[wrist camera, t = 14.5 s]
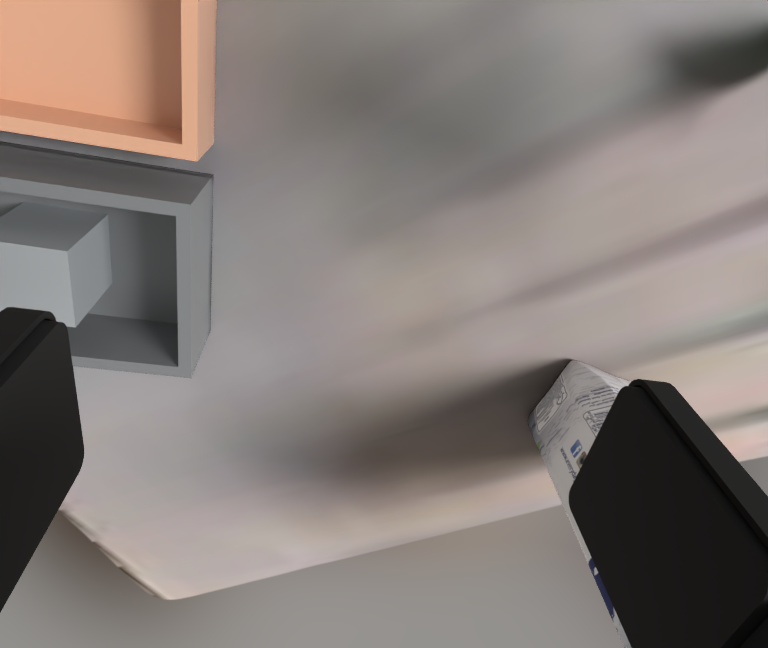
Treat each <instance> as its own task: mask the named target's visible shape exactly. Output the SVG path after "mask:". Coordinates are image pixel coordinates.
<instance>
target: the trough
mask: <svg viewBox="0 0 768 648" xmlns="http://www.w3.org/2000/svg"><path fill="white" fill-rule="evenodd" d="M216 13H217V0H0V130H1V131H7V132H14V133H20V134H26V135H33V136H39V137H45V138H52V139H58V140H64V141H71V142H77V143H83V144H90V145H96V146H102V147H108V148H115V149H121V150H127V151H134V152H140V153H146V154H153V155H159V156H165V157H172V158H178V159H184V160H190V161H198V160H199V159H200V158H201V157H202V156H203V155H204V154H205V153H206V151H207V150H208V149H209V148H210V147H211V146H212V145H213V144H214V118H215V65H216Z"/></svg>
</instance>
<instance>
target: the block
mask: <svg viewBox="0 0 768 648" xmlns="http://www.w3.org/2000/svg"><path fill="white" fill-rule="evenodd" d="M111 284H112V268H111V253H110V238H109V223H108V215H107V214H101V213H94V212H88V211H81V210H75V209H68V208H62V207H55V206H49V205H42V204H36V203H29V202H24V203H22V204H20V205H19V206H17V207H16V208H14V209H13V210H11V211H9V212H8V213H6V214H5V215H3V216H1V217H0V312H1V311H2V310H3V309H5V308H7V307H17V308H25V309H34V310H43V311H50V312H51V313H53V315H54V316H55V318H56V322H63V323H65V325H66V326H67V327H75V328H76V326H77V325H78V324H79V323H80V322H81V320H82V319H83V318H84V317H85V316H86V314H87V313H88V312H89V311H90V309H91V308H92V307H93V306H94V305H95V303H96V302H97V301H98V300H99V298H100V297H101V296H102V295H103V294H104V292H105V291H106V290H107V289H108V288H109V286H110V285H111Z"/></svg>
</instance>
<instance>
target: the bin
mask: <svg viewBox="0 0 768 648" xmlns="http://www.w3.org/2000/svg"><path fill="white" fill-rule="evenodd" d="M24 202H29V203H36V204H42V205H49V206H55V207H62V208H68V209H75V210H81V211H88V212H94V213H101V214H107V215H108V223H109V238H110V253H111V268H112V284H111V285H110V286H109V288H108V289H107V290H106V291H105V292H104V294H103V295H102V296H101V297H100V298H99V300H98V301H97V302H96V303H95V305H94V306H93V307H92V308H91V309H90V311H89V312H88V313H87V314H86V316H85V317H84V318H83V319H82V320H81V322H80V323H79V324H78V325H77V326H76V328H75V327H67V330H68V335H69V343H70V350H71V357H72V364H73V366H76V367H86V368H96V369H106V370H116V371H125V372H135V373H145V374H155V375H165V376H174V377H184V378H191V377H192V375H193V372H194V370H195V367H196V365H197V362H198V360H199V358H200V355H201V353H202V350H203V348H204V345H205V343H206V340H207V338H208V335H209V333H210V326H211V274H212V222H213V175H212V174H206V173H200V172H193V171H187V170H180V169H174V168H168V167H161V166H155V165H148V164H142V163H135V162H129V161H123V160H116V159H110V158H103V157H97V156H90V155H84V154H78V153H71V152H65V151H58V150H52V149H46V148H39V147H33V146H26V145H20V144H13V143H7V142H1V141H0V217H1V216H3V215H5V214H6V213H8V212H9V211H11V210H13V209H14V208H16V207H17V206H19V205H20V204H22V203H24Z"/></svg>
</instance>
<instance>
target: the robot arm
mask: <svg viewBox="0 0 768 648" xmlns="http://www.w3.org/2000/svg"><path fill="white" fill-rule="evenodd" d="M83 458H84V445H83V437H82V430H81V423H80V415H79V408H78V401H77V394H76V386H75V379H74V372H73V364H72V357H71V350H70V343H69V335H68V330H67V326H66V325H65V323H63V322H56V318H55V316H54V315H53V313H51V312H50V311H43V310H34V309H25V308H17V307H7V308H5V309H3V310H2V311H1V312H0V612H1V610H2V608H3V607H4V605H5V603H6V601H7V599H8V598H9V596H10V594H11V593H12V591H13V589H14V587H15V585H16V584H17V582H18V580H19V578H20V576H21V575H22V573H23V571H24V569H25V568H26V566H27V564H28V562H29V561H30V559H31V557H32V555H33V553H34V552H35V550H36V548H37V546H38V545H39V543H40V541H41V539H42V537H43V535H44V534H45V532H46V530H47V529H48V527H49V525H50V523H51V521H52V520H53V518H54V516H55V514H56V513H57V511H58V509H59V507H60V506H61V504H62V502H63V500H64V498H65V497H66V495H67V493H68V491H69V490H70V488H71V486H72V484H73V482H74V481H75V479H76V477H77V475H78V473H79V471H80V469H81V466H82V463H83ZM569 507H570V510H571V512H572V514H573V517H574V519H575V521H576V523H577V526H578V528H579V530H580V532H581V535H582V537H583V539H584V541H585V544H586V546H587V548H588V551H589V553H590V555H591V557H592V560H593V562H594V564H595V566H596V569H597V571H598V573H599V575H600V578H601V580H602V582H603V584H604V587H605V589H606V591H607V593H608V596H609V598H610V600H611V602H612V605H613V607H614V609H615V611H616V614H617V616H618V618H619V620H620V623H621V625H622V627H623V629H624V632H625V634H626V636H627V638H628V641H629V643H630V645H631V647H632V648H768V496H767V495H766V494H765V493H764V492H763V491H762V490H761V488H760V487H759V486H758V485H757V483H756V482H755V481H754V480H753V479H752V477H751V476H750V475H749V474H748V473H747V472H746V471H745V470H744V468H743V467H742V466H741V465H740V463H739V462H738V461H737V460H736V459H735V458H734V456H733V455H732V454H731V453H730V452H729V451H728V449H727V448H726V447H725V446H724V445H723V443H722V442H721V441H720V440H719V439H718V438H717V436H716V435H715V434H714V433H713V432H712V431H711V429H710V428H709V427H708V426H707V425H706V424H705V422H704V421H703V420H702V419H701V418H700V417H699V415H698V414H697V413H696V412H695V411H694V410H693V408H692V407H691V406H690V405H689V404H688V402H687V401H686V400H685V399H684V398H683V397H682V395H681V394H680V393H679V392H678V391H677V390H676V388H675V387H674V386H672V385H671V384H670V383H666V382H659V381H650V380H642V379H637V380H633V381H632V382H631V383H630V384H629V385H628V386H624V387H623V388H621V389H620V391H619V392H618V394H617V396H616V398H615V400H614V402H613V404H612V406H611V408H610V410H609V412H608V414H607V416H606V418H605V420H604V422H603V424H602V426H601V428H600V430H599V432H598V434H597V436H596V438H595V440H594V442H593V444H592V446H591V448H590V450H589V452H588V454H587V456H586V458H585V460H584V462H583V464H582V466H581V468H580V470H579V472H578V474H577V476H576V478H575V480H574V482H573V484H572V486H571V488H570V491H569Z"/></svg>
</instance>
